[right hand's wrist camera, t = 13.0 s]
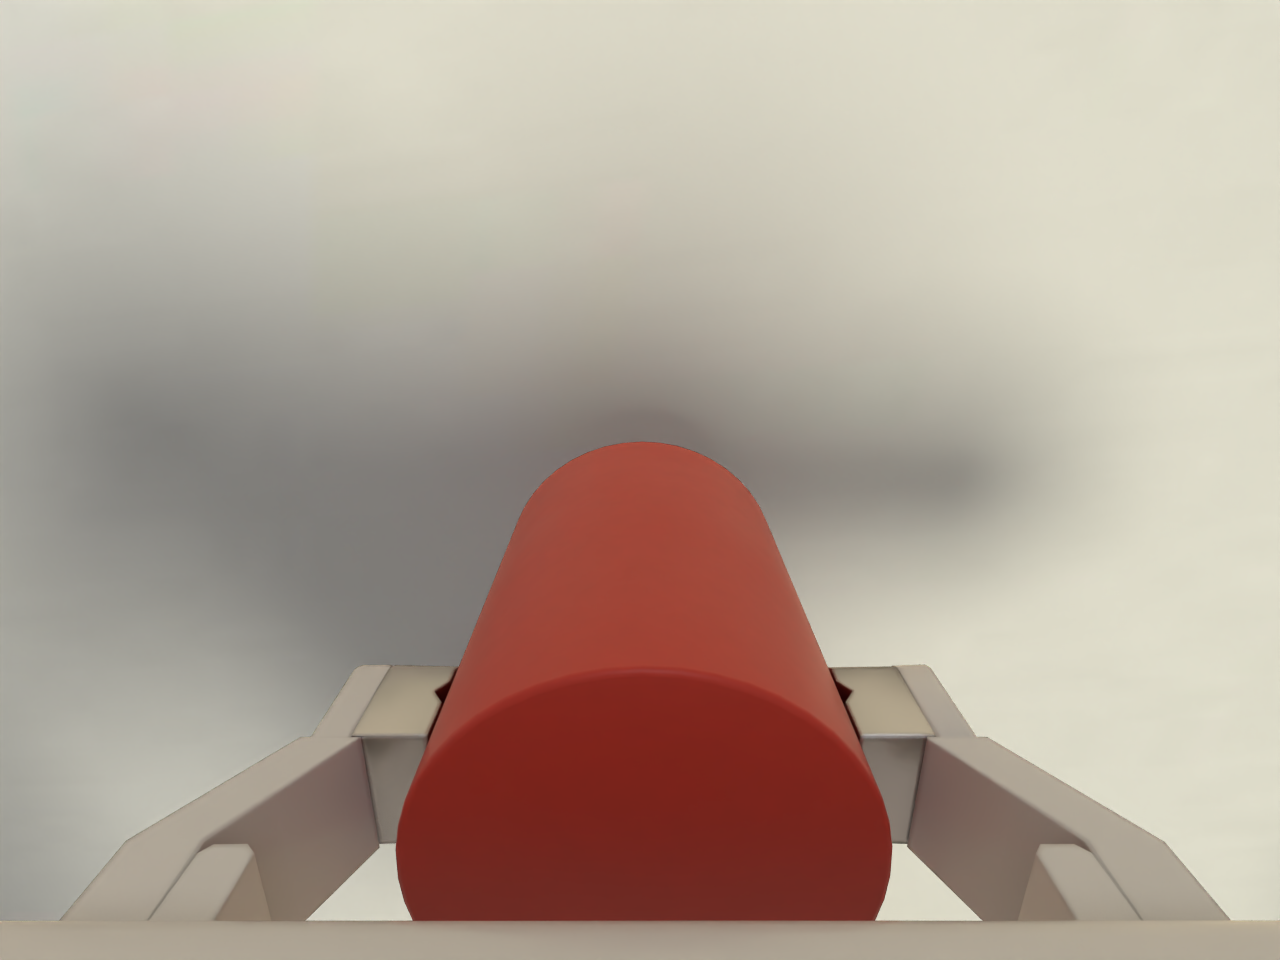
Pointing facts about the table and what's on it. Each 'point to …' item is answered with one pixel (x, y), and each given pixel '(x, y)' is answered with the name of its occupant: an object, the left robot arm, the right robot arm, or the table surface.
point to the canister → (643, 722)
